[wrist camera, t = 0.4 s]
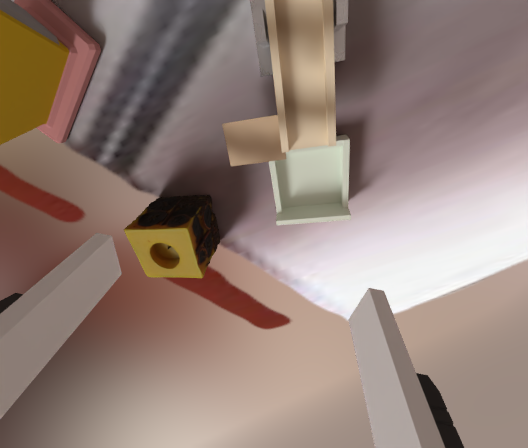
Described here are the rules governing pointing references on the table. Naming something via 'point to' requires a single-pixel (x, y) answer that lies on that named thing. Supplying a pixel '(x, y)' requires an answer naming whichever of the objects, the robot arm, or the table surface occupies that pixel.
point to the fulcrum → (263, 37)
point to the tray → (312, 184)
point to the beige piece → (293, 86)
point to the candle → (175, 236)
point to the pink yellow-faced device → (41, 69)
